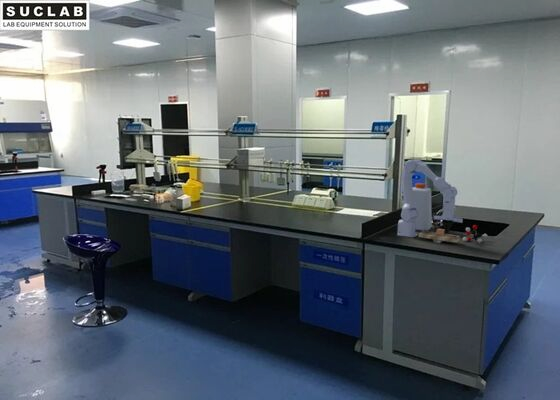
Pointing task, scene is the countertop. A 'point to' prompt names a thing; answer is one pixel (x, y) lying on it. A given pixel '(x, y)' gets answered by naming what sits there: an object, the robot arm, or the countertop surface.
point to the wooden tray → (438, 237)
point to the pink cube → (440, 232)
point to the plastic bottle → (422, 206)
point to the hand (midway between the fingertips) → (446, 233)
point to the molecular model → (474, 234)
